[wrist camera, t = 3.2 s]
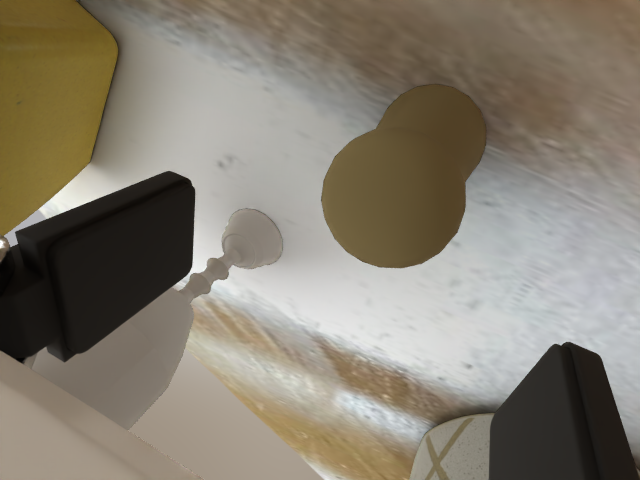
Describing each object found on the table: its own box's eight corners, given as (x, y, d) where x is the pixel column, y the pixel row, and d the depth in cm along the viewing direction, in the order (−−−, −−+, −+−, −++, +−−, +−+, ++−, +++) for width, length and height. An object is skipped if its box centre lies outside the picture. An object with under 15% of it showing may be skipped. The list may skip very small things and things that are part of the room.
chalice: (309, 233, 28) (98, 457, 13) (277, 290, 32) (88, 510, 17) (229, 179, 28) (-58, 335, 14) (207, 241, 32) (-32, 414, 18)
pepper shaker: (424, 59, 20) (362, 81, 11) (513, 133, 20) (524, 218, 11) (357, 147, 23) (269, 219, 14) (432, 210, 23) (390, 322, 14)
